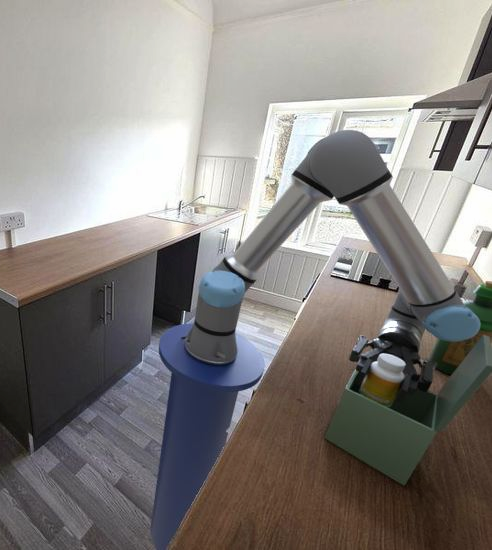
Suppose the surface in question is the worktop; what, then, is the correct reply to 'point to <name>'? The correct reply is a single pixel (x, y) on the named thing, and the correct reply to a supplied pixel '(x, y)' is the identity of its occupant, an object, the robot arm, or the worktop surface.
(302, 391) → the worktop surface
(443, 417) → the box lid
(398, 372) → the supplement bottle
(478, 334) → the bottle
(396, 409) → the box
